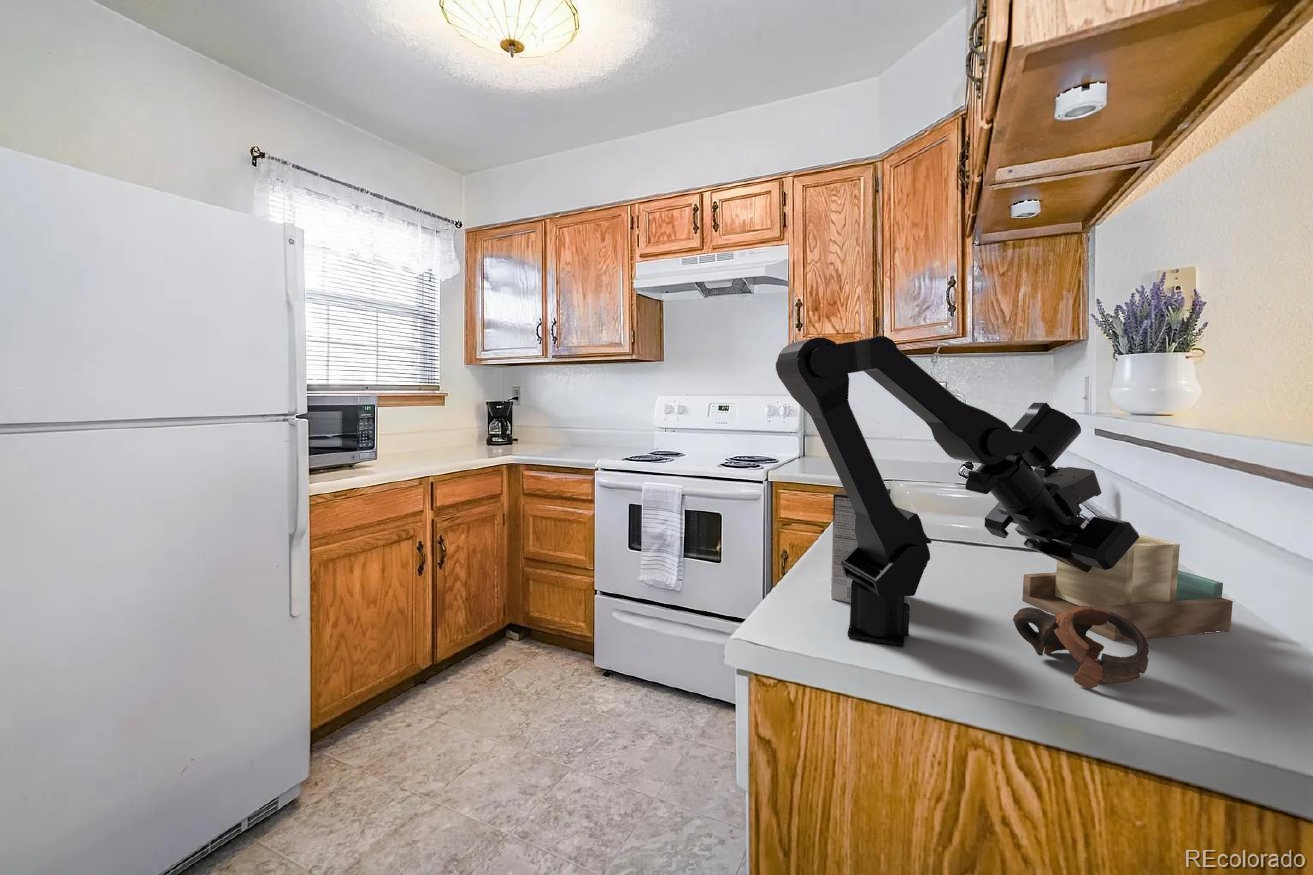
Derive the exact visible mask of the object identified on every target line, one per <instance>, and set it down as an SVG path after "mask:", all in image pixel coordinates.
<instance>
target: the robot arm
mask: <svg viewBox="0 0 1313 875" xmlns="http://www.w3.org/2000/svg"><path fill="white" fill-rule="evenodd" d="M775 370H776V371H775V372H776V374H777V376H778V378H779V380H780V381H781V383H782V385H784V387H785V388H786V390H787V391H788V393H789V395H791V397H792V398H793V399H794V401H795V402H797V403H798V404H799V405H800V406H801V408H803V409H804V410H805V412H806V413H807V414H809V416H810V417H811V419H812V421H813V423H814V425H815V428H816V430H817V432H818V435H819V437H820V439H821V441H822V443H823V445H824V447H825V449H826V452H827V454H828V457H829V458H830V461H831V462H832V465H833V467H834V469H835V471H836V474H837V475H838V476H837V477H838V478H839V480H840V483H841V485H842V487H843V489H845V491H846V493H847V496H848V498H849V500H850V502H851V504H852V507H853V509H854V511H855V515H856V519H855V535H856V539H857V543H858V544H857V545H856V546H855V547H854V548H853V550H852V551H851V552H850V553H849V554H848V555H847V556H846V557H845V558H844V559H843V560H842V561H841V566H842V569H843V572H844V575H845V576H846V577H849V578H851V579H852V584H851V601H850V608H849V626H848V630H847V637H848V638H850V639H856V640H862V641H869V642H874V643H881V644H887V645H892V646H896V647H897V646H899V647H904V646H905V638H907V637H909V635H910V634H909V633H910V632H909V631H910V630H909V629H910V608H911V607H910V605H911V603H910V600H911V599H910V598H909V597H914V596H915V595H916V593H917V591H918V588H919V584H920V582H921V579H922V577H923V574H924V572H925V569H926V568H927V566H928V562H929V561H930V560H931V552H930V548H929V546H928V544H932V540H931V539H930V538H929V537H928V536H927V534H926V533H925V531H924V527H923V523H922V520H921V518H920V515H918V513H915V512H913V511H909V510H906V509H903V508H900V507H897V506H896V505H895V504H894V502H893V499H892V497H891V494H890V495H889V493H888V490H887V489H888V488H887V486H886V484H885V482H884V479H883V477H882V475H881V472H880V471H879V468H878V466H877V464H876V462H875V460H874V457H873V455H872V453H871V450H870V448H869V446H868V442H867V441H866V439H865V437H864V434H863V433H862V430H861V428H860V425H859V424H858V420H857V419H856V417H855V415H854V412H853V410H852V408H851V405H850V403H849V402H850V401H849V392H850V391H849V389H850V388H849V387H850V376H849V374H853V373H859V372H860V373H861V372H864V373H866V374H867V375H868V376H869V377H870V378H871V379H873V381H875V382H876V383H878V384H879V385H880V386H881V387H883V389H884V390H886V392H888V393H890V394H891V395H892V396H893V397H894V398H895V399H896V400H898V401H899V402H901V404H903V405H904V406H905V407H906V408H908V409H909V410H910V411H911V412H912V413H914V414H915V415H916V416H918V417H919V418H920V419H921V420H922V421H923V422H924V423H925V424H926V425H927V426H928V427H929V428H930V430H931V433H932V436H933V439H934V440H935V442H936V443H937V444H938V445H939V446H940V447H941V449H942V450H943V451H944V453H946V455H948V457H950V458H951V459H954V460H956V461H961V462H968V463H975V464H980V465H979V467H977V469H975V470H969V471H967V472H968V473H967V475H968V477H967V479H966V481H965V487H964V488H965V490H966V491H970V492H973V493H974V492H975V493H978V494H983V495H988V494H989V493H991V495H992V496H993V497H994V498H995V500H997V501H998V502H997V504H996V505H995V506H994V507H993V508H992V509H991V510H990V511H989V513H987V514H986V516H985V517H984V528H985V529H986V530H987V531H988V532H989V533H990V534H991V535H992V536H996V537H997V538H998V537H999V538H1001V539H1006V538H1007V537H1009V534H1010V533H1009V532H1008V531H1007V528H1008V527H1009V526H1010V525H1011V523H1012V524H1016V525H1017V526H1016V527H1015V528H1014V530H1015V531H1016V532H1017V534H1018V535H1019V536H1022V537H1024V539H1025V540H1024V542H1023V545H1024V547H1026V548H1028V549H1031V550H1033V551H1036V552H1038V553H1041V554H1043V555H1045V556H1047V557H1049V558H1051V559H1053V560H1056V561H1057V560H1058V561H1060V562H1063V563H1065V564H1067V565H1069V566H1071V567H1074V568H1076V569H1078V570H1080V571H1083V572H1086V573H1088V572H1089V571H1090V569H1091V568H1092V566H1093V567H1096V568H1099V569H1103V570H1107V569H1111V568H1113V567H1114V566H1115V565H1116V563H1117V562H1118V561H1119V560H1120V559H1121V558H1122V557H1123V555H1124V554H1125V553H1126V552H1127V551H1128V550H1129V549H1130V547H1131V546H1132V545H1133V544H1134V543H1135V542H1136V541H1137V539H1138V538H1139V535H1140V534H1139V532H1138V531H1137V530H1136V529H1135V527H1134V526H1133V525H1132V523H1131V522H1130V521H1126V520H1120V519H1116V518H1113V517H1107V516H1104V515H1101V516H1099V515H1098V516H1093V517H1092V518H1091V519H1090V520H1089V521H1088V520H1087V519H1086V518H1085V517H1080V516H1079V515H1080V514H1081V512H1082V511H1083V509H1082V508H1081V506H1080V505H1081V504H1083V503H1085V502H1086V501H1088V500H1090V499H1092V498H1094V497H1099V496H1100V495H1101V494H1102V489H1101V486H1100V483H1099V480H1098V478H1097V476H1096V472H1095V470H1093V469H1088V468H1087V469H1086V468H1081V467H1073V466H1072V467H1071V466H1065V467H1061V466H1058V467H1057V468H1056V467H1055V465H1053V464H1054V463H1055V462H1056V461H1057V460H1058V459H1059V458H1060V457H1061V455H1063V454H1064V453H1065V451H1066V450H1067V449H1068V448H1069V446H1071V444H1072V443H1073V442H1074V441H1075V440H1076V439H1077V438H1078V437H1079V435H1080V434H1081V433H1082V427H1081V425H1080V424H1079V422H1078V421H1077V420H1076V419H1075V418H1071V416H1069V415H1067V414H1066V413H1064V412H1062V411H1060V410H1058V409H1055V408H1051V406H1050V405H1049V404H1048V403H1047V402H1032V404H1030V406H1029V407H1028V408H1027V409H1026V411H1025V412H1024V414H1023V416H1022V417H1020V418H1019V419H1018V421H1017V422H1016V423H1015V424H1014V425H1013V426H1012V427H1010V426H1009V425H1008V423H1007V422H1006V421H1004V420H1002V419H1001V418H999V417H997V416H995V415H993V414H991V413H990V412H987V411H986V410H983V409H980V408H978V407H975V406H974V405H973V406H972V405H970V404H968V403H965V402H963V401H962V400H960V399H958V397H956V396H955V395H954V394H953V393H952V392H950V391H949V390H948V389H947V388H945V386H944V385H942V384H941V383H940V382H938V380H936V379H935V378H934V377H932V375H930V374H929V373H928V372H926V371H925V369H923V368H922V367H921V366H919V365H918V364H917V363H916V362H915V361H914V360H912V358H910V357H909V356H908V355H907V354H905V352H903V351H902V350H901V349H900V348H899V347H898V346H897V344H896V343H895V341H894V340H893V339H891V338H890V337H888V336H885V335H877V336H871V337H866V338H862V339H859V340H855V341H854V340H853V341H847V342H840V343H837V342H836V341H835V340H831V339H828V338H826V337H823V336H821V337H820V336H819V337H818V336H817V337H812V338H808V339H803V340H800V341H795V342H792V343H789V344H787V345H786V346H785V347H784V348H782V350H781V351H780V353H779V354H778V356H777V360H776V362H775ZM880 570H882V572H880Z"/></svg>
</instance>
